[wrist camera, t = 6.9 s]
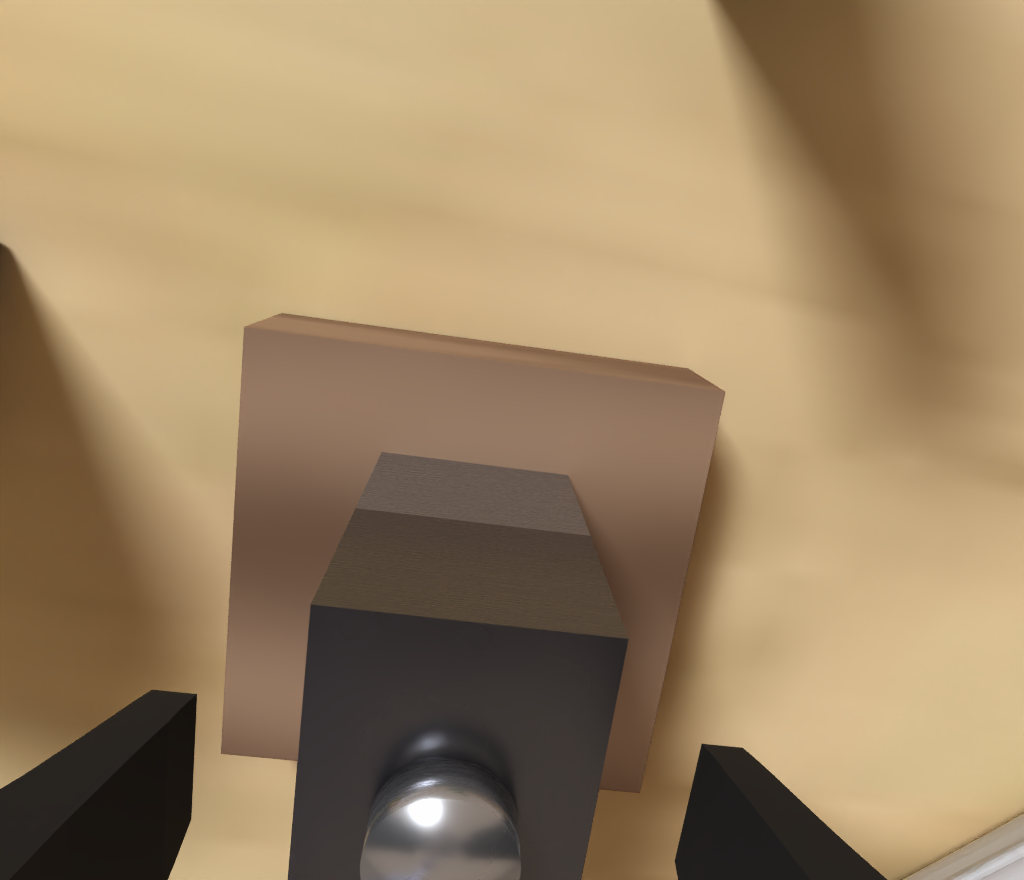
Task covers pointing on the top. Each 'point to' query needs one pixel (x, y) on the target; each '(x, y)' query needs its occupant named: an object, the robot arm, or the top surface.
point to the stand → (465, 438)
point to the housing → (456, 681)
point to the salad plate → (983, 857)
